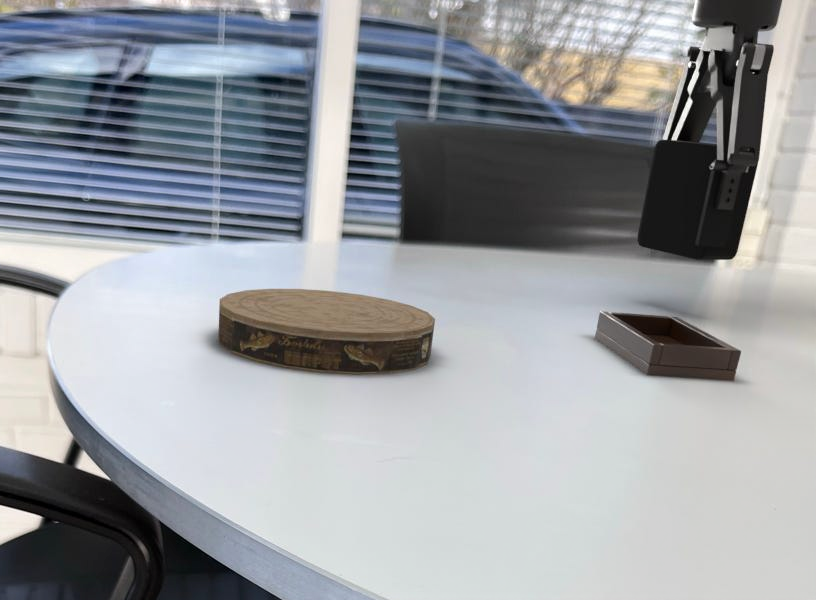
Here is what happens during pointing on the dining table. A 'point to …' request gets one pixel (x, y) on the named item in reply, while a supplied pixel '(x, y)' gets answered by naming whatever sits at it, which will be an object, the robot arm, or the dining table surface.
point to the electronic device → (686, 201)
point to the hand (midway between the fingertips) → (687, 238)
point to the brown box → (667, 346)
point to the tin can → (325, 331)
